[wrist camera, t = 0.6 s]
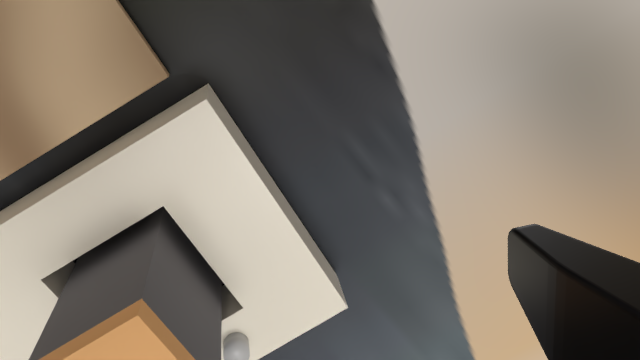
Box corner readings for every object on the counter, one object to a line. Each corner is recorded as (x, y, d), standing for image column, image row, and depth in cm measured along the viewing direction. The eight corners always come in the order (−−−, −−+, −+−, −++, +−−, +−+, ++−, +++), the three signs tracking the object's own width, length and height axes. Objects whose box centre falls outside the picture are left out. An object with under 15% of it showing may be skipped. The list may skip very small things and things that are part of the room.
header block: (109, 406, 26) (93, 467, 23) (-56, 245, 22) (-102, 292, 19) (336, 275, 25) (352, 319, 22) (208, 83, 21) (205, 104, 18)
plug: (142, 319, 24) (106, 476, 17) (80, 249, 23) (10, 390, 15) (223, 271, 24) (222, 410, 17) (166, 197, 22) (137, 315, 15)
